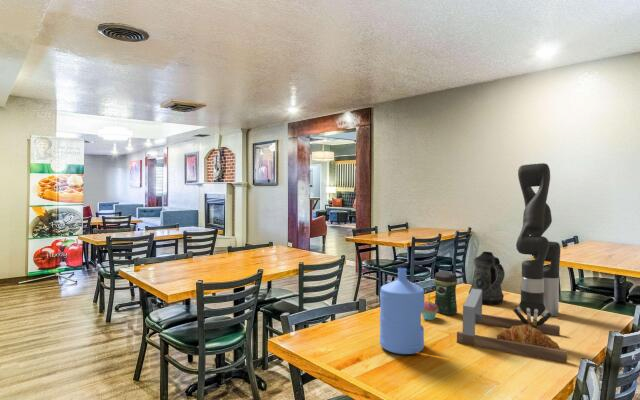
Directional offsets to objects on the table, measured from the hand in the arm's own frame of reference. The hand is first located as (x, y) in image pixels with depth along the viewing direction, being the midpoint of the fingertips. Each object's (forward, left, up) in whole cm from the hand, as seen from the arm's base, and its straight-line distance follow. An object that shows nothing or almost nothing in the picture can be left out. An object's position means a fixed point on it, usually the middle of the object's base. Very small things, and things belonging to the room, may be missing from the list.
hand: (531, 334), depth 139 cm
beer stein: (-49, -18, -3) cm, 52 cm away
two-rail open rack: (+1, -6, -2) cm, 7 cm away
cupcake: (-7, -40, -3) cm, 40 cm away
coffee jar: (-19, -34, -3) cm, 39 cm away
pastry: (+7, -1, -3) cm, 8 cm away
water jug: (+28, -41, -3) cm, 50 cm away
